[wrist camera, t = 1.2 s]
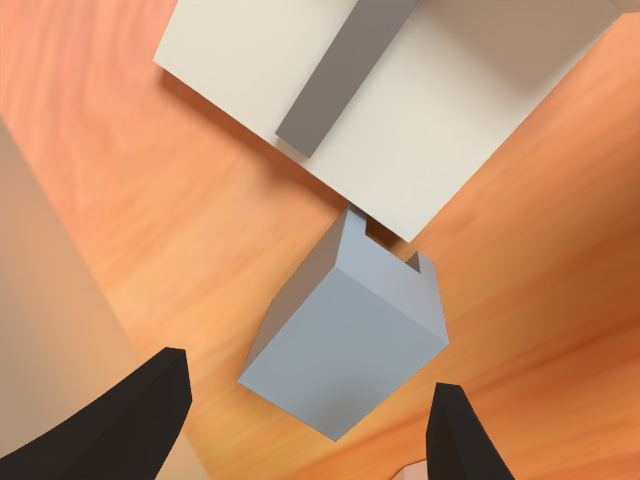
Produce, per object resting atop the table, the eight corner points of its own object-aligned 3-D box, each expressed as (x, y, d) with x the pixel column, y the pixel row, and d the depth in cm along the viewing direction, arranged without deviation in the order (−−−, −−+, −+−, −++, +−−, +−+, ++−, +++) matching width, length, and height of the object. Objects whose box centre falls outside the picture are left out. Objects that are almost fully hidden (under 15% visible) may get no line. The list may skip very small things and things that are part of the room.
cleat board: (636, -18, 14) (752, -43, 10) (408, 232, 20) (413, 292, 15) (327, -299, 13) (291, -491, 8) (166, 58, 18) (88, 67, 13)
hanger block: (434, 262, 20) (449, 344, 15) (348, 348, 23) (335, 442, 18) (350, 202, 20) (334, 265, 14) (272, 299, 23) (236, 381, 17)
